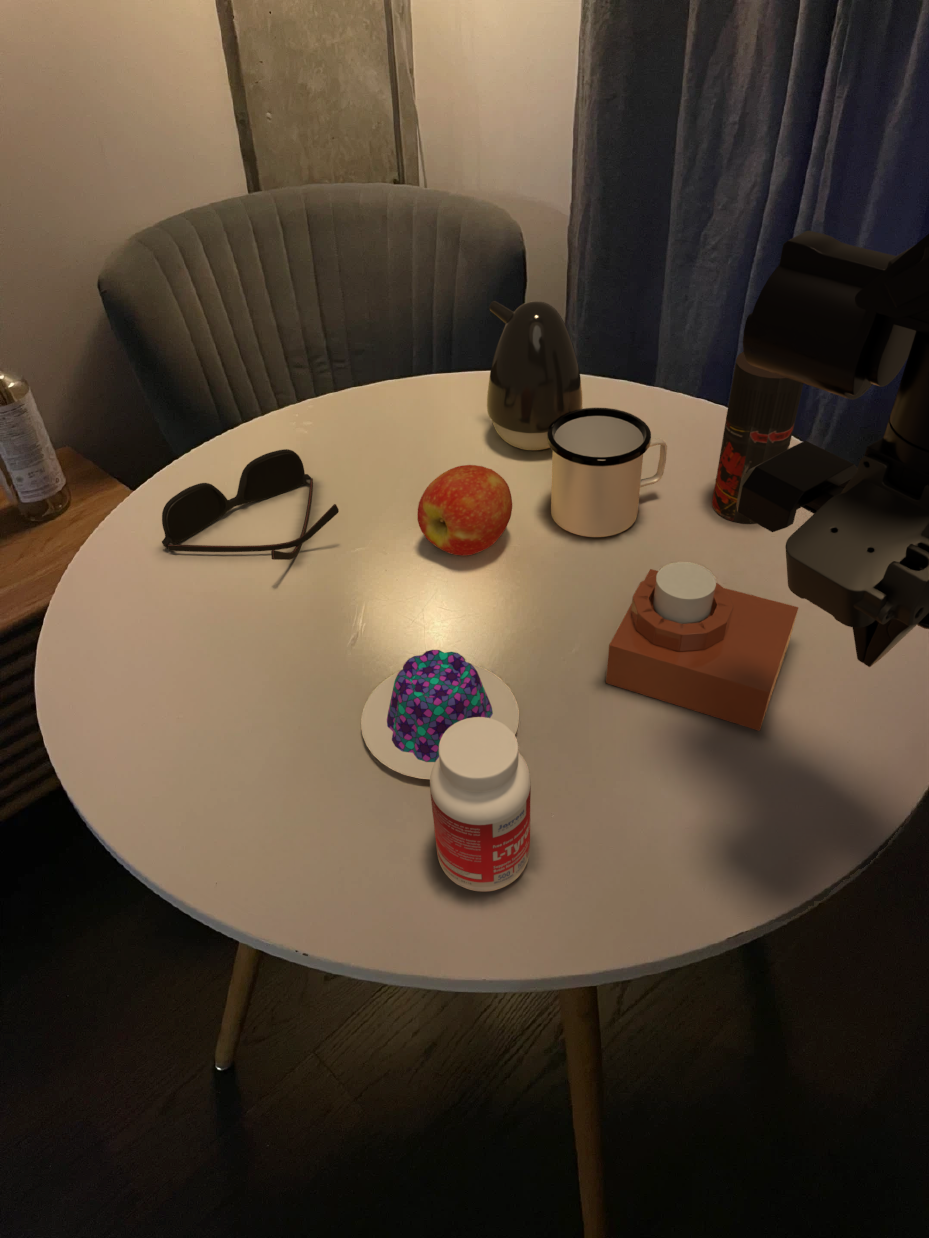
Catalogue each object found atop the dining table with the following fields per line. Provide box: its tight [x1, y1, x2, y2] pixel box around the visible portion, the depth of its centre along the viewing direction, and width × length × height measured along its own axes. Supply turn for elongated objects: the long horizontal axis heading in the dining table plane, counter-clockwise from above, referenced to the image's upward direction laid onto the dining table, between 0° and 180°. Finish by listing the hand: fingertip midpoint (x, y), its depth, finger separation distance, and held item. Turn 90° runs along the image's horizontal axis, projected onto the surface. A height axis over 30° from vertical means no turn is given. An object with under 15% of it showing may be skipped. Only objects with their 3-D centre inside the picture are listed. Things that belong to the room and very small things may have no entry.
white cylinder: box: [653, 561, 717, 624], centre depth 67 cm, size 4×4×2 cm
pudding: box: [360, 649, 520, 780], centre depth 66 cm, size 12×12×5 cm
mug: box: [547, 407, 668, 538], centre depth 84 cm, size 12×10×9 cm
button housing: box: [605, 568, 799, 731], centre depth 69 cm, size 12×10×6 cm
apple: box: [416, 464, 513, 556], centre depth 82 cm, size 8×8×8 cm
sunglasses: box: [161, 448, 340, 561], centre depth 84 cm, size 17×14×5 cm
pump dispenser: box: [486, 300, 583, 451], centre depth 93 cm, size 10×10×15 cm
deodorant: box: [711, 351, 805, 525], centre depth 82 cm, size 6×6×15 cm
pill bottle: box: [429, 717, 532, 892], centre depth 55 cm, size 6×6×11 cm
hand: (868, 660), depth 53 cm, fingers closed
